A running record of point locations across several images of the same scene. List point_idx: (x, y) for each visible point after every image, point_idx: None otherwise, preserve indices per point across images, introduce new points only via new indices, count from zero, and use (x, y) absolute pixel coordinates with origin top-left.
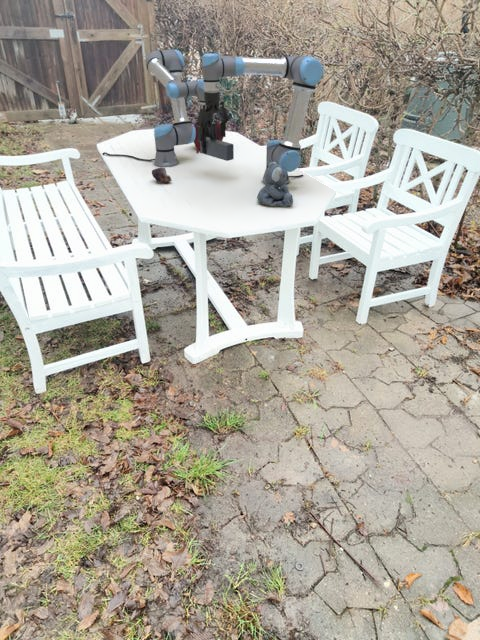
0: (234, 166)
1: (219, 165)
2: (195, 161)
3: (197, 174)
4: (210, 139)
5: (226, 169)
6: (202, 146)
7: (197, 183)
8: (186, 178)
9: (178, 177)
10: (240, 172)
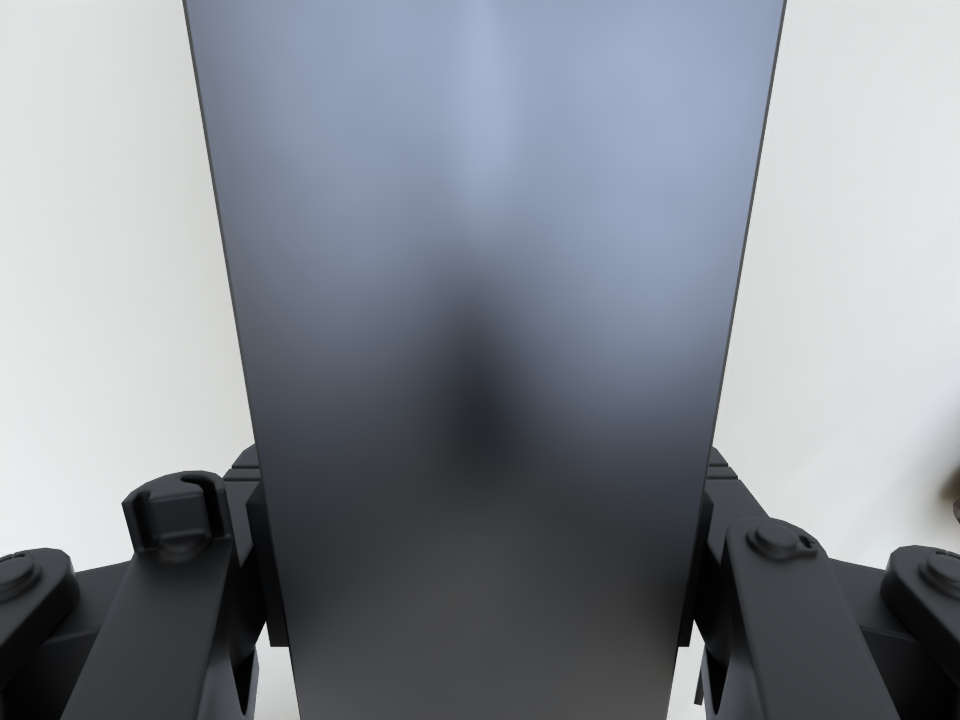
0: (13, 306)
1: (159, 459)
2: (293, 700)
3: None
4: (464, 489)
5: (175, 281)
6: (722, 470)
7: (871, 76)
8: (780, 347)
9: (803, 435)
10: (76, 16)
